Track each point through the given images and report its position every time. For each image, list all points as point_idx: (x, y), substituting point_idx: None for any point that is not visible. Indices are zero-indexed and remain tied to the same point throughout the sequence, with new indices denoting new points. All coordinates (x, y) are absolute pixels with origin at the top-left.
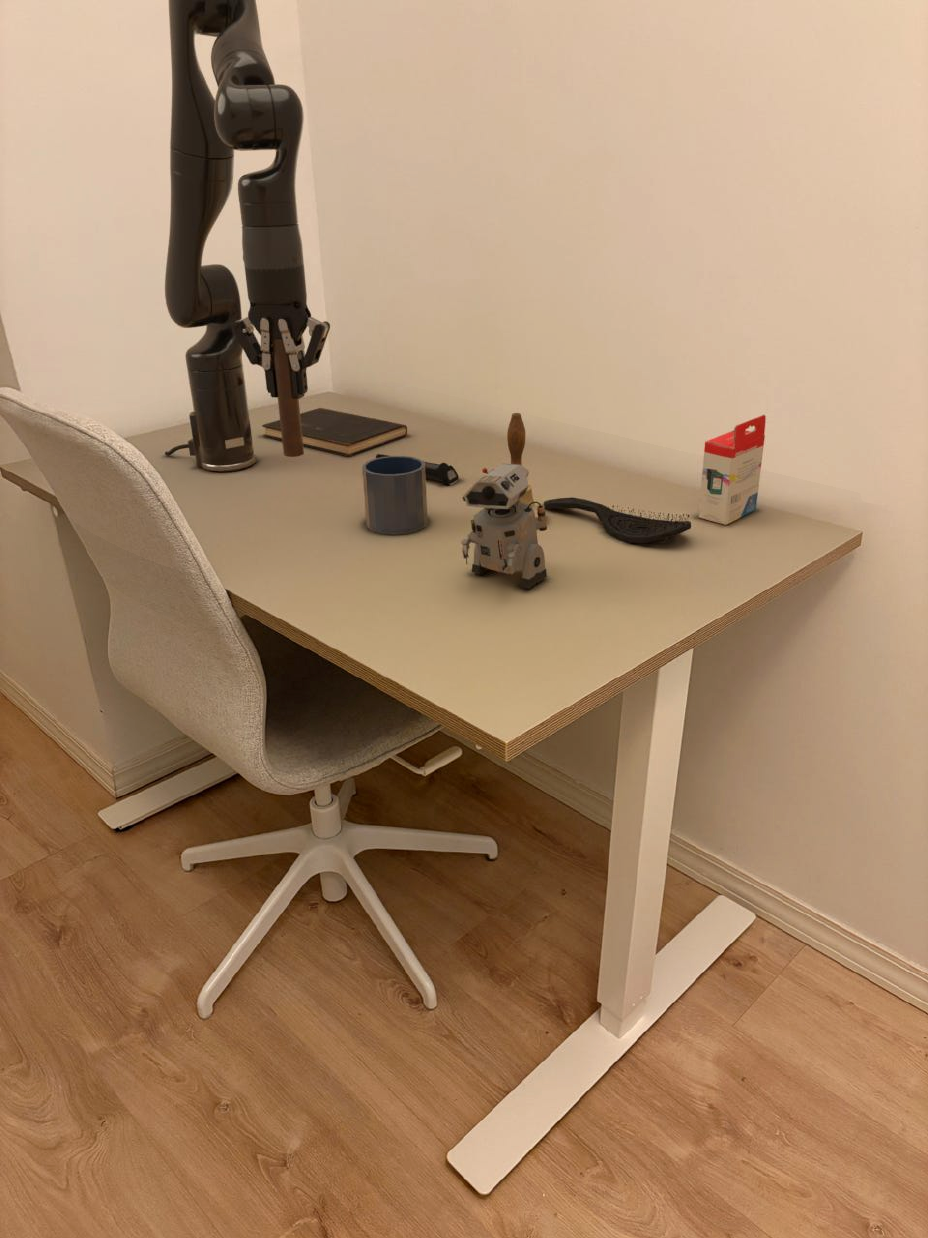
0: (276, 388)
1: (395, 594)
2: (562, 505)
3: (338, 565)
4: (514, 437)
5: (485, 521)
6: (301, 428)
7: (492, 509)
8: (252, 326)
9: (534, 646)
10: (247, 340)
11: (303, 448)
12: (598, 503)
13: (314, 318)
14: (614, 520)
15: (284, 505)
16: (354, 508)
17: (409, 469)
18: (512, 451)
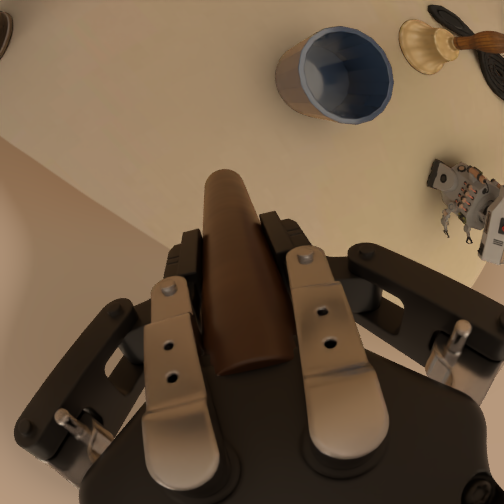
0: None
1: (381, 242)
2: (454, 31)
3: (310, 213)
4: (495, 53)
5: (473, 221)
6: (248, 194)
7: (482, 211)
8: (93, 443)
9: (460, 262)
10: (122, 419)
11: (242, 180)
12: None
13: (485, 394)
14: (486, 60)
15: (128, 86)
16: (228, 50)
17: (343, 36)
18: (478, 49)
